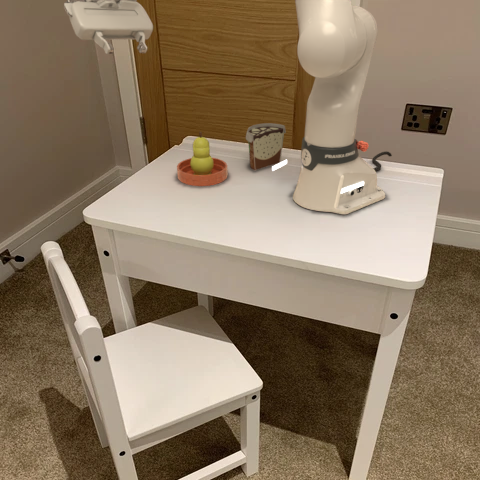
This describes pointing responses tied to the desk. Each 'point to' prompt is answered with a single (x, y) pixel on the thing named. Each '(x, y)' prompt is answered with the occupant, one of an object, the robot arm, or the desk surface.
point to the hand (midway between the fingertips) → (127, 51)
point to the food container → (265, 144)
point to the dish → (216, 176)
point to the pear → (201, 157)
